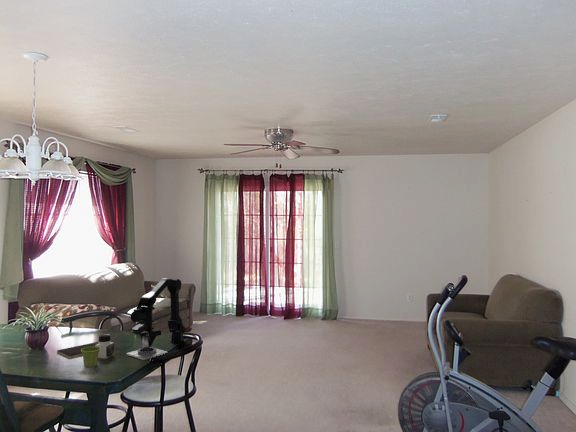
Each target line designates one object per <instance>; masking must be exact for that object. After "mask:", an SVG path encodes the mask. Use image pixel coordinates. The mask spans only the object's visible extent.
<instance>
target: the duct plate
mask: <svg viewBox="0 0 576 432" xmlns="http://www.w3.org/2000/svg"><path fill="white" fill-rule="evenodd" d="M168 352H169V351H167V350H163V349H159V348H156V347H152V350H150V351H142V348H141V347H140V348H138V349H137V350H133V351H129V352H126V356H127V357H131V358H135V359H137V360H141V361H146V360H149V359H152V357H153V358H157V357H159V356H160V355H161V356H163V354H164V355H166V354H165V353H168ZM168 354H169V353H168ZM156 356H157V357H156Z"/></svg>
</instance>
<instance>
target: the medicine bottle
mask: <svg viewBox="0 0 576 432" xmlns="http://www.w3.org/2000/svg"><path fill="white" fill-rule="evenodd" d="M98 343H99V344H97V345H95V347H100V348H101V349H100V351H99V354H98V359H108V358H110V357H113V356H114V355H115V344H114V342H113V341H111V334H109V333H105V334H104V333H103V334H101V335H99V336H98Z"/></svg>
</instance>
